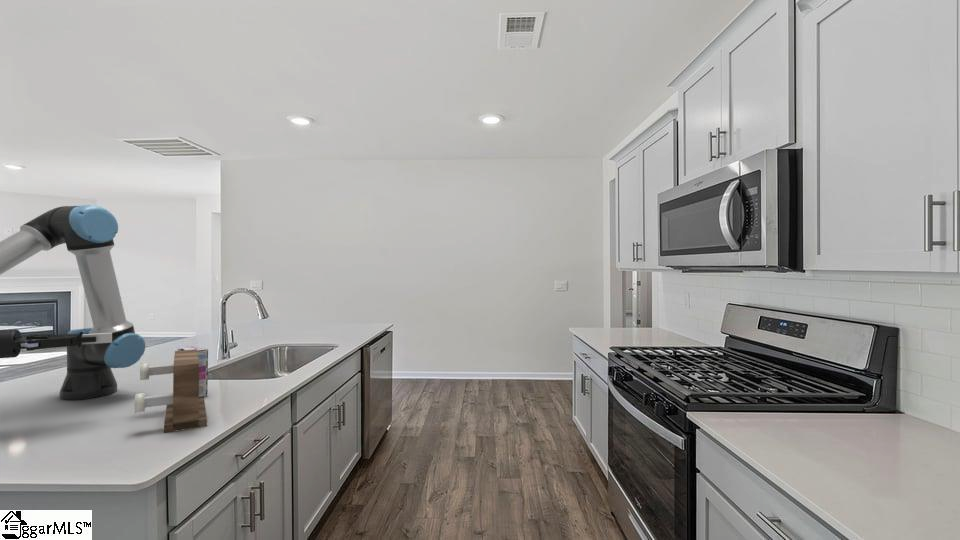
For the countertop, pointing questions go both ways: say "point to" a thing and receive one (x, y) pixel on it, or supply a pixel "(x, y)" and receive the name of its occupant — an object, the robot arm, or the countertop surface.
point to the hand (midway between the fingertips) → (111, 337)
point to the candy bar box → (201, 369)
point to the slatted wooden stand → (185, 394)
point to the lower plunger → (151, 401)
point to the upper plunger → (154, 370)
